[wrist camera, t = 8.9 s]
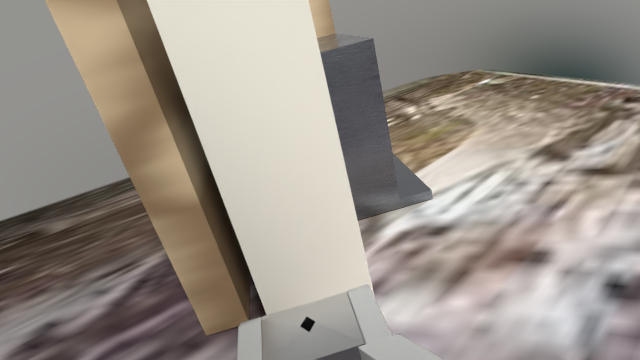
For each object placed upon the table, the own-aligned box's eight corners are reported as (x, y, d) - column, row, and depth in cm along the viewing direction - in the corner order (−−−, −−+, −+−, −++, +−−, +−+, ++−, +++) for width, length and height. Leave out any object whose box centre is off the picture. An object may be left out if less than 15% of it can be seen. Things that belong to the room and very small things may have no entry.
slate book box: (274, 335, 17) (138, -21, 11) (265, 188, 31) (206, 4, 26) (376, 305, 17) (295, -60, 11) (320, 173, 31) (272, -13, 26)
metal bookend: (354, 221, 23) (316, 53, 19) (326, 165, 32) (296, 43, 28) (432, 198, 24) (410, 28, 20) (383, 149, 33) (361, 26, 29)
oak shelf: (206, 335, 17) (11, -70, 11) (230, 183, 34) (157, -15, 27) (446, 264, 18) (394, -162, 12) (354, 148, 34) (312, -53, 28)
